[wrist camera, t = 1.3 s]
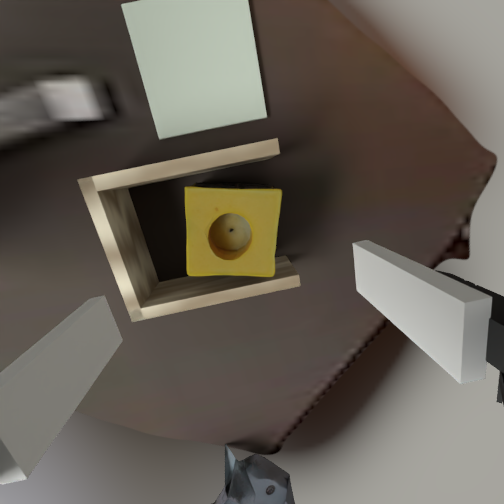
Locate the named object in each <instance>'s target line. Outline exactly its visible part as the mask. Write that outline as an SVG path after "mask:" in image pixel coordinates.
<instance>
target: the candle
mask: <svg viewBox="0 0 504 504" xmlns="http://www.w3.org/2000/svg"><path fill="white" fill-rule="evenodd" d="M281 198H282V190H281V189H277V188H276V189H274V186H271V185H268V184H267V185H261V184H240V183H233V184H231V183H228V184H226V183H223V184H208V183H205V182H204V183H195V184H194V185H192V186H187V187H185V214H186V228H187V244H186V260H187V274H188V275H189V276H212V275H233V276H257V277H273V276H274V274H275V250H276V238H277V236H278V231H277V228H278V221H279V215H280V207H281Z"/></svg>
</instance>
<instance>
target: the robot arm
mask: <svg viewBox="0 0 504 504" xmlns="http://www.w3.org/2000/svg"><path fill="white" fill-rule="evenodd" d="M353 252H354V263H355V275H356V287H357V291H358V292H359V293H360V294H361V295H362V296H364V297H365V298H366V299H367V300H368V301H369V302H370V303H371V304H372V305H373V306H375V307H376V308H377V309H378V310H379V311H380V312H381V313H382V314H383V315H385V316H386V317H387V318H388V319H389V320H390V321H391V322H392V323H393V324H395V325H396V326H397V327H398V328H399V329H400V330H401V331H402V332H404V333H405V334H406V335H407V336H408V337H409V338H410V339H411V340H412V341H413V342H415V343H416V344H417V345H418V346H419V347H420V348H421V349H422V350H423V351H424V352H426V353H427V354H428V355H429V356H430V357H431V358H432V359H433V360H434V361H436V362H437V363H438V364H439V365H440V366H441V367H442V368H443V369H444V370H445V371H447V372H448V373H449V374H450V375H451V376H452V377H453V378H454V379H455V380H457V381H458V382H459V383H460V384H463V383H468V382H472V381H477V380H482V379H485V376H486V365H487V362H488V363H490V364H491V365H493V366H494V367H496V368H497V369H498V370H500V375H499V385H498V394H497V402H499V403H502V401H503V404H504V297H503V296H501V295H499V294H497V293H494V292H492V291H490V290H487V289H485V288H483V287H480V286H478V285H477V286H475V284H473V283H471V282H469V281H465V280H464V279H462V278H460V277H457V276H455V275H453V274H450V273H445V272H441V271H434V270H432V269H430V268H427V267H425V266H423V265H421V264H419V263H416V262H414V261H412V260H410V259H408V258H406V257H403V256H401V255H399V254H397V253H395V252H392V251H390V250H388V249H386V248H384V247H381V246H379V245H377V244H375V243H373V242H370V241H368V240H365V241H360V242H355V243H353ZM122 341H123V340H122V337H121V335H120V332H119V330H118V328H117V325H116V323H115V320H114V318H113V315H112V313H111V310H110V308H109V305H108V303H107V300H106V298H105V296H100V297H95V298H90V299H89V300H88V301H86V302H85V303H84V304H83V305H82V306H80V307H79V308H78V309H77V310H75V311H74V312H73V313H72V314H71V315H69V316H68V317H67V318H66V319H65V320H63V321H62V322H61V323H60V324H59V325H57V326H56V327H55V328H54V329H53V330H51V331H50V332H49V333H48V334H47V335H45V336H44V337H43V338H42V339H40V340H39V341H38V342H37V343H36V344H34V345H33V346H32V347H31V348H30V349H28V350H27V351H26V352H25V353H24V354H22V355H21V356H20V357H19V358H18V359H16V360H15V361H14V362H13V363H12V364H10V365H9V366H8V367H7V368H5V369H4V370H3V371H2V372H1V373H0V483H1V484H7V483H11V482H15V481H20V480H25V479H27V478H28V477H29V475H30V474H31V473H32V471H33V470H34V468H35V467H36V466H37V464H38V463H39V461H40V460H41V458H42V457H43V455H44V454H45V452H46V451H47V450H48V448H49V447H50V445H51V444H52V442H53V441H54V439H55V438H56V436H57V435H58V434H59V432H60V431H61V429H62V428H63V426H64V425H65V423H66V422H67V421H68V419H69V418H70V416H71V415H72V413H73V412H74V410H75V409H76V407H77V406H78V405H79V403H80V402H81V400H82V399H83V397H84V396H85V394H86V393H87V392H88V390H89V389H90V387H91V386H92V384H93V383H94V381H95V380H96V378H97V377H98V376H99V374H100V373H101V371H102V370H103V368H104V367H105V365H106V364H107V363H108V361H109V360H110V358H111V357H112V355H113V354H114V352H115V351H116V349H117V348H118V347H119V345H120V344H121V342H122Z"/></svg>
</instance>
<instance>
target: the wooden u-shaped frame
mask: <svg viewBox="0 0 504 504" xmlns="http://www.w3.org/2000/svg"><path fill="white" fill-rule="evenodd" d="M278 154H280V151H279V144H278V138H276V139H271V140H266V141H261V142H256V143H251V144H247V145H242V146H237V147H232V148H227V149H222V150H218V151H213V152H208V153H203V154H198V155H193V156H189V157H184V158H179V159H174V160H169V161H164V162H160V163H155V164H150V165H145V166H140V167H135V168H131V169H126V170H121V171H116V172H111V173H106V174H102V175H97V176H92V177H87V178H82V179H77V181H78V183H79V186H80V188H81V191H82V193H83V196H84V199H85V201H86V204H87V206H88V209H89V212H90V214H91V217H92V219H93V222H94V224H95V227H96V230H97V232H98V235H99V237H100V240H101V242H102V245H103V248H104V250H105V253H106V255H107V258H108V261H109V263H110V266H111V268H112V271H113V273H114V276H115V279H116V281H117V284H118V286H119V289H120V292H121V294H122V297H123V299H124V302H125V304H126V307H127V310H128V312H129V315H130V317H131V320H132V322H134V321H139V320H144V319H148V318H153V317H158V316H162V315H167V314H172V313H176V312H181V311H186V310H190V309H195V308H200V307H204V306H209V305H214V304H218V303H223V302H228V301H232V300H237V299H242V298H246V297H251V296H256V295H260V294H265V293H270V292H274V291H279V290H284V289H288V288H293V287H298V286H300V279H299V274H298V273H297V271H296V270H295V268H294V267H293V265H292V264H291V263H290V261H289V260H288V258H287V257H286V255H285V256H281V257H276V258H275V274H274V276H273V277H257V276H233V275H212V276H187V277H182V278H177V279H172V280H168V281H163V282H159V280H158V277H157V274H156V271H155V268H154V265H153V262H152V259H151V256H150V253H149V250H148V247H147V244H146V241H145V238H144V235H143V232H142V229H141V226H140V223H139V220H138V217H137V214H136V211H135V208H134V206H133V203H132V200H131V197H130V194H129V191H128V188H132V187H137V186H142V185H146V184H151V183H156V182H161V181H166V180H171V179H175V178H180V177H185V176H190V175H195V174H199V173H204V172H209V171H214V170H219V169H224V168H228V167H233V166H238V165H243V164H248V163H252V162H257V161H262V160H267V159H270V158H272V157H274V156H276V155H278Z"/></svg>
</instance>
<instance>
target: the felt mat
mask: <svg viewBox="0 0 504 504" xmlns="http://www.w3.org/2000/svg"><path fill="white" fill-rule="evenodd" d="M121 6H122V9H123V13H124V17H125V20H126V24H127V27H128V31H129V34H130V38H131V41H132V45H133V48H134V52H135V55H136V59H137V63H138V66H139V70H140V73H141V77H142V80H143V84H144V87H145V91H146V94H147V98H148V101H149V105H150V108H151V112H152V116H153V119H154V123H155V126H156V130H157V133H158V137H159V139H160V140H162V139H167V138H171V137H176V136H181V135H186V134H191V133H196V132H201V131H205V130H210V129H215V128H220V127H225V126H230V125H235V124H240V123H244V122H249V121H254V120H259V119H264V118H267V114H266V107H265V101H264V95H263V89H262V83H261V77H260V71H259V64H258V58H257V52H256V46H255V40H254V34H253V28H252V22H251V15H250V9H249V3H248V0H140V1H135V2H130V3H125V4H121Z"/></svg>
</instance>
